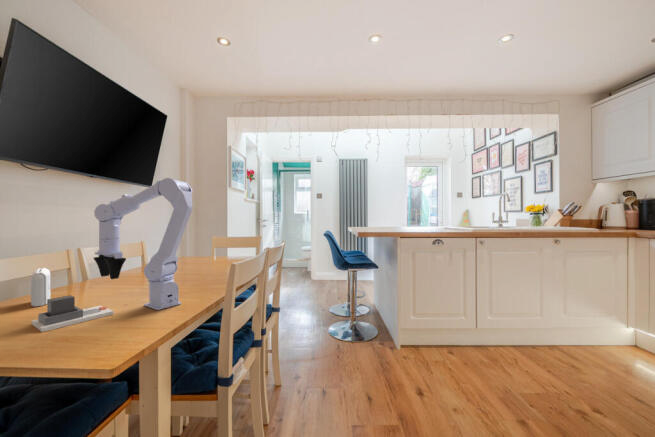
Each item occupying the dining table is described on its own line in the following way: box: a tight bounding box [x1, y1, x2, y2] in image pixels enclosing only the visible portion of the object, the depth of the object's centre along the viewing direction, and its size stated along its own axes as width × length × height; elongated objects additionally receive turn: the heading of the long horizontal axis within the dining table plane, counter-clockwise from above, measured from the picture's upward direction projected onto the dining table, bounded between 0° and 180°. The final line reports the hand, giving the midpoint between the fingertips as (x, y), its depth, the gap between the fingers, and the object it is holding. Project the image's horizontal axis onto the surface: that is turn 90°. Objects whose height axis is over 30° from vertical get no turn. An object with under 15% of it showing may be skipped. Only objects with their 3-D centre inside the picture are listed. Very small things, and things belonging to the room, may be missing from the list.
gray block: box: [46, 294, 76, 317], centre depth 80 cm, size 4×5×6 cm
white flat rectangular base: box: [31, 305, 114, 333], centre depth 83 cm, size 10×16×3 cm, turn 148°
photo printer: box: [30, 267, 52, 308], centre depth 98 cm, size 10×4×12 cm, turn 39°
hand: (109, 277), depth 97 cm, fingers open, 7 cm apart
